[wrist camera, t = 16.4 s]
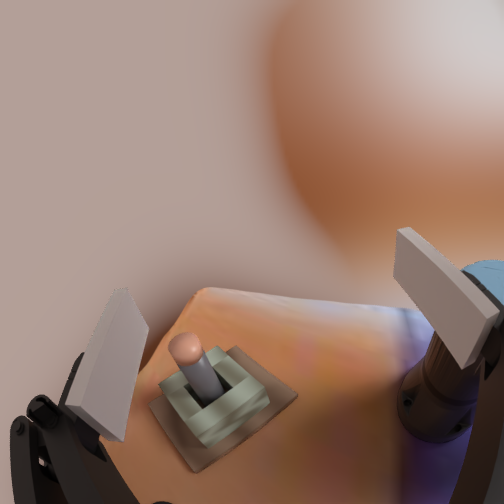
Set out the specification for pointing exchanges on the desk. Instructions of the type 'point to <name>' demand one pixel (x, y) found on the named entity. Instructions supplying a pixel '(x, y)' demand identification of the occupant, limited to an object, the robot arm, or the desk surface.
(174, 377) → the socket
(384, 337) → the desk surface
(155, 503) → the blender logo cutout
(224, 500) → the desk surface
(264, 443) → the desk surface
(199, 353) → the peg
